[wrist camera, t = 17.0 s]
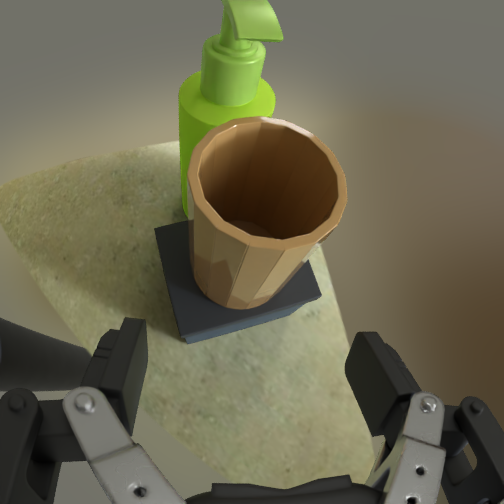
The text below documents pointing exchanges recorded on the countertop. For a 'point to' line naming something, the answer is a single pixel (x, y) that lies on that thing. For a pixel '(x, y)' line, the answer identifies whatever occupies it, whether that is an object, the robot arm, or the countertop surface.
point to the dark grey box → (210, 313)
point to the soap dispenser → (228, 77)
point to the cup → (258, 207)
